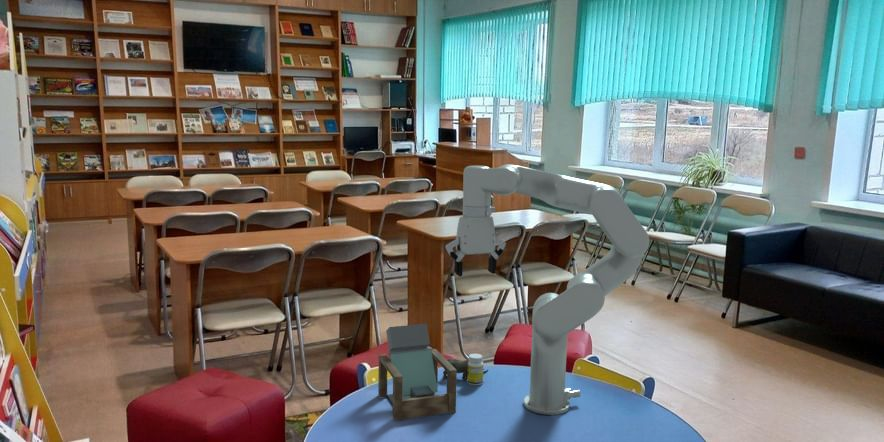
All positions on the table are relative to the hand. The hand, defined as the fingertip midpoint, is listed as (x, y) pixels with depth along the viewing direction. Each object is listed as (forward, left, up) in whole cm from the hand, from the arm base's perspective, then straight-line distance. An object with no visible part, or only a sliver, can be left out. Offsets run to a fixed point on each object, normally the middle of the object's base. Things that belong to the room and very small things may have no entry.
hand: (475, 273), depth 187 cm
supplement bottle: (-5, -11, -36) cm, 38 cm away
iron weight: (+16, 0, -33) cm, 37 cm away
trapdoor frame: (+16, -2, -36) cm, 40 cm away
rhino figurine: (-4, -15, -36) cm, 39 cm away
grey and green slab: (+16, -8, -26) cm, 32 cm away
